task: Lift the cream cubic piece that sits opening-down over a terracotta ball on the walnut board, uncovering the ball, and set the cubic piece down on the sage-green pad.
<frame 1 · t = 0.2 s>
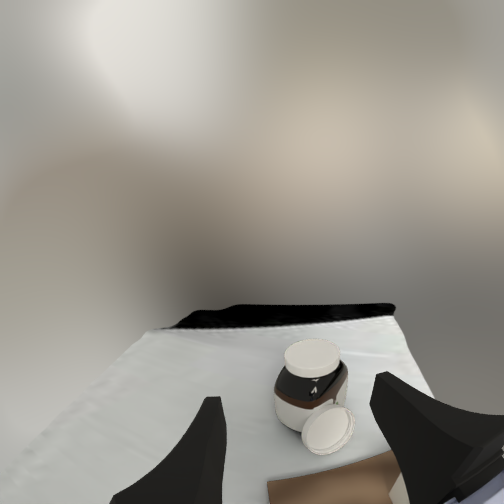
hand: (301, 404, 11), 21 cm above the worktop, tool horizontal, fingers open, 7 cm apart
cream cubic piece: (419, 500, 14), point 1 cm above the worktop, touching walnut board
spread jar: (318, 425, 32), on the worktop
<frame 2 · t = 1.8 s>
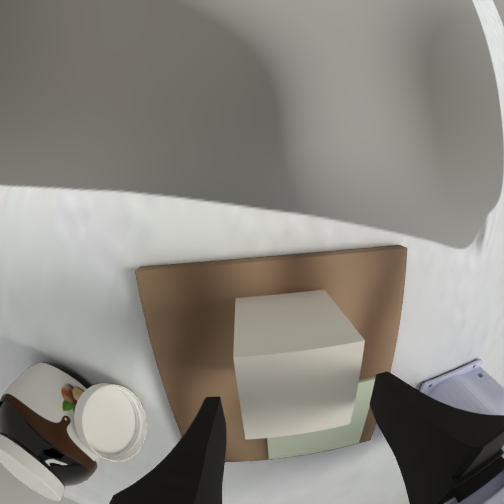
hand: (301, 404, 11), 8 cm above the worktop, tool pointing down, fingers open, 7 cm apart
walnut board: (282, 380, 20), on the worktop
cream cubic piece: (282, 333, 18), point 1 cm above the worktop, touching walnut board
spread jar: (88, 392, 20), on the worktop
sage pad: (318, 423, 20), resting on walnut board
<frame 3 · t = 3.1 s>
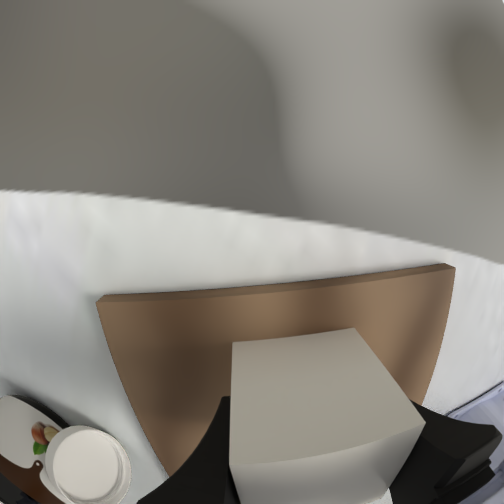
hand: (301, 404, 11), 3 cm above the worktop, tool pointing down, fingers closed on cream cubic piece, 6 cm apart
walnut board: (291, 429, 14), on the worktop
cream cubic piece: (295, 383, 12), point 1 cm above the worktop, touching gripper, walnut board
spread jar: (65, 428, 15), on the worktop
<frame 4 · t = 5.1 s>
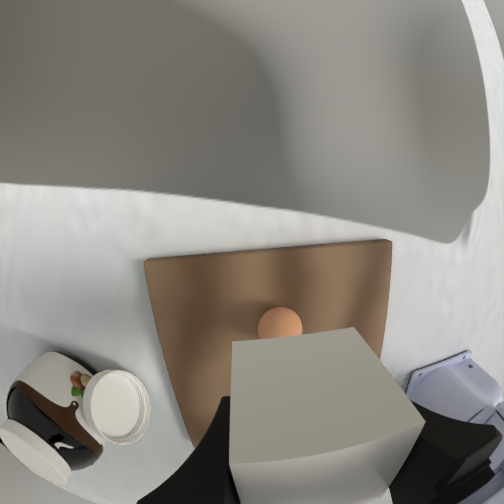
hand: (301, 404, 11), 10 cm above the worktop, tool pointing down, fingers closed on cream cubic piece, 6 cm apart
terracotta ball: (280, 329, 18), point 2 cm above the worktop, touching walnut board
walnut board: (277, 365, 22), on the worktop
cream cubic piece: (295, 382, 12), point 8 cm above the worktop, touching gripper
spread jar: (95, 380, 22), on the worktop
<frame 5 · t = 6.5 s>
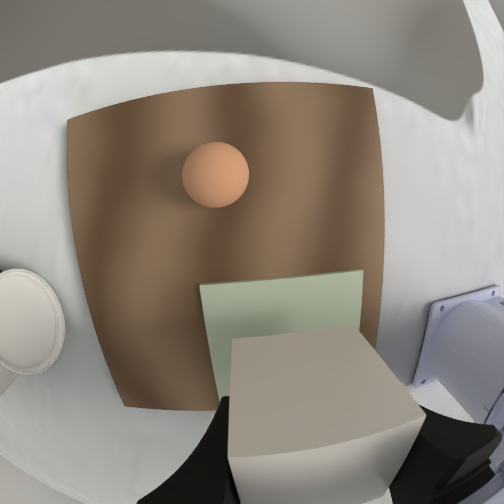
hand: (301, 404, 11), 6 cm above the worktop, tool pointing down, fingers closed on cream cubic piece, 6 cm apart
terracotta ball: (215, 174, 12), point 2 cm above the worktop, touching walnut board
walnut board: (227, 267, 15), on the worktop
cream cubic piece: (295, 380, 12), point 4 cm above the worktop, touching gripper
spread jar: (17, 303, 16), on the worktop
sage pad: (286, 347, 16), resting on walnut board
when the fingers open (4 cm above the worktop, at t = 7.8 s): cream cubic piece drops 1 cm, resting on sage pad.
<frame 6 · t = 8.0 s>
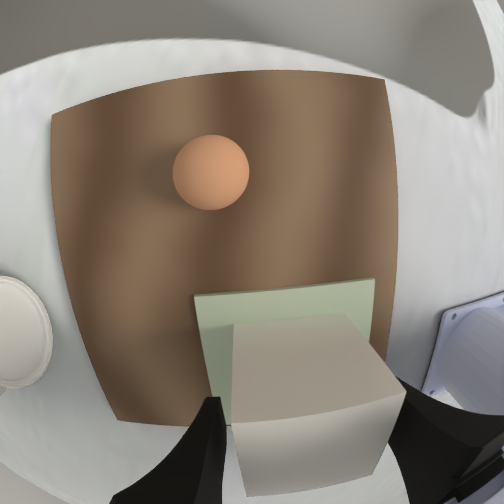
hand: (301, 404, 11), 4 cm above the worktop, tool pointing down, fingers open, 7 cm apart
terracotta ball: (210, 172, 10), point 2 cm above the worktop, touching walnut board
walnut board: (225, 276, 14), on the worktop
cream cubic piece: (291, 364, 14), point 1 cm above the worktop, touching sage pad
spread jar: (5, 311, 14), on the worktop
sage pad: (289, 362, 14), resting on walnut board
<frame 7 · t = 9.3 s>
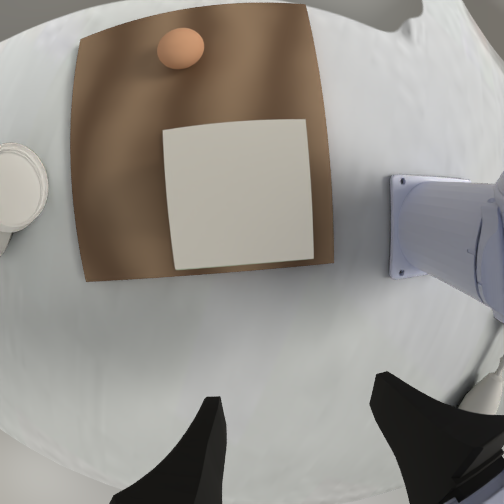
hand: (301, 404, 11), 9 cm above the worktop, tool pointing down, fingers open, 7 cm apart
terracotta ball: (180, 48, 13), point 2 cm above the worktop, touching walnut board
walnut board: (189, 125, 17), on the worktop
cream cubic piece: (239, 191, 17), point 1 cm above the worktop, touching sage pad
spread jar: (10, 196, 17), on the worktop
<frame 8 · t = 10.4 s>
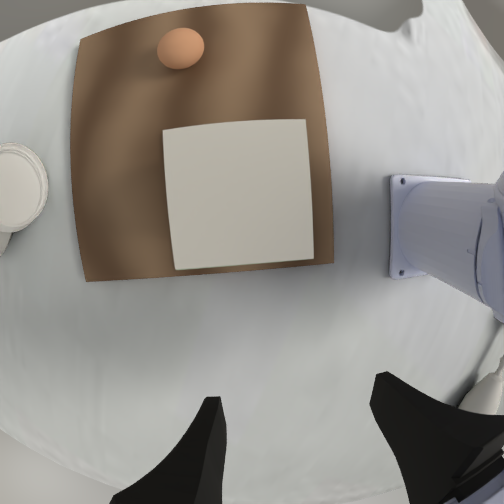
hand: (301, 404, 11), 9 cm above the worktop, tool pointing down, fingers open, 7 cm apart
terracotta ball: (180, 48, 13), point 2 cm above the worktop, touching walnut board
walnut board: (189, 125, 17), on the worktop
cream cubic piece: (239, 191, 17), point 1 cm above the worktop, touching sage pad
spread jar: (10, 196, 17), on the worktop
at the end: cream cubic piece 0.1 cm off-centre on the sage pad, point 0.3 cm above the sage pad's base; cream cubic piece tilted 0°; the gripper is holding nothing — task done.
